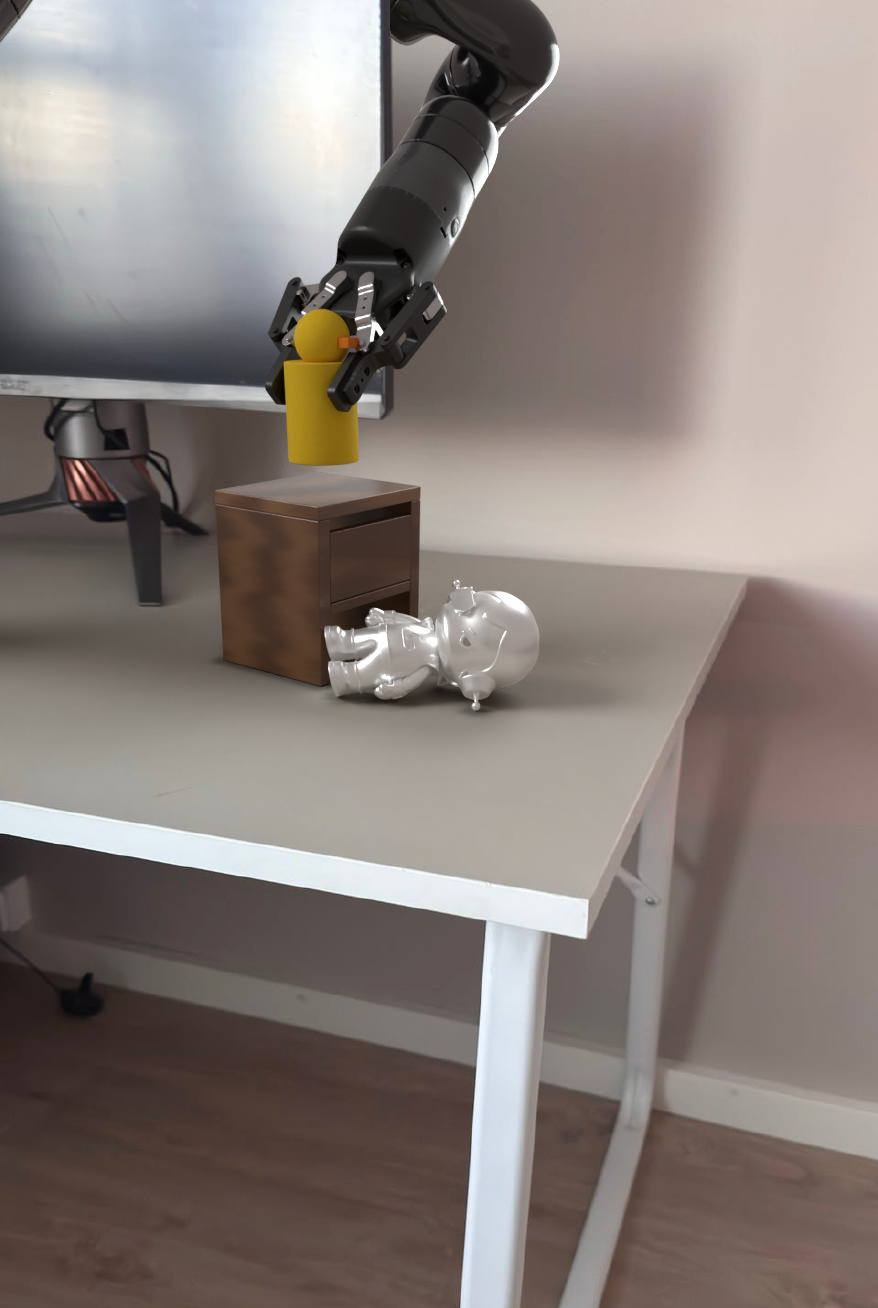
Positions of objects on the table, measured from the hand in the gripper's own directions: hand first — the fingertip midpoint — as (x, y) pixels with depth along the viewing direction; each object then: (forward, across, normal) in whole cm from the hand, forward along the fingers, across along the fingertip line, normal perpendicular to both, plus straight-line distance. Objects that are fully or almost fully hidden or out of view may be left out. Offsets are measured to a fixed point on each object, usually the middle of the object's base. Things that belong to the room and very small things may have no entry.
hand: (305, 399), depth 84 cm
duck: (+2, 0, +4) cm, 5 cm away
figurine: (+14, +12, +13) cm, 23 cm away
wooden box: (+13, 0, +15) cm, 19 cm away
